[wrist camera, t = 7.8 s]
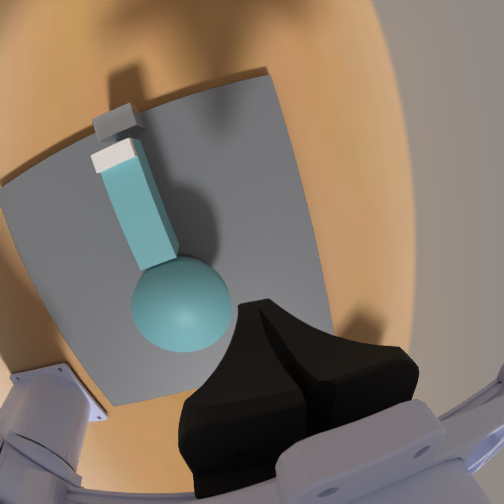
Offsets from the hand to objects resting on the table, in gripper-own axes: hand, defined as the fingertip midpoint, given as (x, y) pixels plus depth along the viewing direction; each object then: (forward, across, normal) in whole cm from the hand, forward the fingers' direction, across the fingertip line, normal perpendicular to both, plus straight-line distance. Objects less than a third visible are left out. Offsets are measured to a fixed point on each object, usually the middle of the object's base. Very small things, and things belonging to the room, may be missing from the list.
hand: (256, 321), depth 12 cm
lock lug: (+10, +6, -10) cm, 15 cm away
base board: (+10, +5, +1) cm, 11 cm away
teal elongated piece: (+7, +4, -2) cm, 9 cm away
